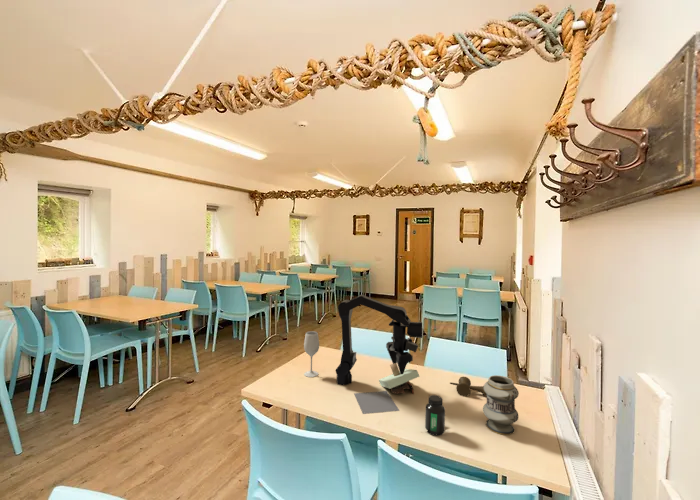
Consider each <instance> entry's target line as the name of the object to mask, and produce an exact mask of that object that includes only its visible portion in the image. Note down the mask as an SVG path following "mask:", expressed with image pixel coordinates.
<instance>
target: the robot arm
mask: <svg viewBox="0 0 700 500" xmlns="http://www.w3.org/2000/svg"><path fill="white" fill-rule="evenodd" d="M361 305H362V306H365V307H366V308H370V309H372V310H374V311H376V312H380V313H382V314H384V315H386V316H387V317H388V318H390V319H391V321H390V322H389V323H388V326H390V327H392V336H391V340H392V341H388V342H386V345H385V348H386V349H387V353H388V355H389V358H390V360H391V361H392V363H391V364H394V363H396V364H397V367H398V369H399V371H400V374H403V373H404V370H405V369H406V368H407V365H408V364H409V363H411V362H413V361H414V357H413V355H412V354H411V353H410V352H409V351H411V352H413V353H416V352H417V350H418V347H419V345H418V344H417V343H415V342H413V339H412V338H418V339H419V338H420V339H423V332H424V331H423V322H422V321H411V319H410V318H409V316H408V315H407V310H406V308H404V307H402V306H399V305H391V304H387V303H385V302H381V301H379V300H376V299H374V298H371V297H369V296H367V295H365V294H360V295H358V296H356V297H354V298H352V299H350V300H349V299H344V300H343V301H341V302H339V304H338V306H337V312H338V316H339V318H340V321H341V336H342V337H341V339H342V341H341V342H342V353H341V357H340V363H339V365H338V366H337V367H336V368H335V374H336V384H337V385H339V386H347V385H349V384H350V385H352V383H353V374H352V372H351V370H352V369H353V368H354V366H355V364H356V362H357V360H358V359H357V352H356V351H354V350H353V343H352V342H353V341H352V339H353V338H352V317H353V316H352V315H353V311H354V310H353V309H355V308H357V307H359V306H361ZM406 335H407V336H409V337H406Z"/></svg>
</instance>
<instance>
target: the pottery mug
mask: <svg viewBox="0 0 700 500" xmlns="http://www.w3.org/2000/svg"><path fill="white" fill-rule="evenodd" d="M405 390H410V391H411V393H412V394H414V393H415V391H414V388H413V384H412V383H411V381H408V382H405V383H403V384H400V385H399V386H397V387H393V388H391V390H390V391H391V393H392V394H395V395H397V394H405Z"/></svg>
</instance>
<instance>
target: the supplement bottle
mask: <svg viewBox="0 0 700 500" xmlns="http://www.w3.org/2000/svg"><path fill="white" fill-rule="evenodd" d="M443 403H444V402H443V397H441V396H440V395H436V394H431V395H429V396H428V402H427V404H426V405H425V411H424V412H425V414H424V415H425V417H424V418H425V419H424V420H425V422H424V427H425V429H426V432H427V434H429V435H431V436H439V437H440V436H443V434H444V433H445V427H446V407H445V405H443Z"/></svg>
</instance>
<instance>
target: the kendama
mask: <svg viewBox="0 0 700 500" xmlns="http://www.w3.org/2000/svg"><path fill="white" fill-rule="evenodd" d="M449 384H450V385H453V386H456V392H457V394H458V395H459V396H462V397H469V395H470V394H471V390H473V391H476V392H477V393H478V392H479V393H481V394H483V395H484V396H486V397H487V394H486V393H485V391H484V385H483V386H482V385H481V386H480V385H478V386H477V385H472V382H471V380H470V378H469V377H467V376H461V377H459V379H458V383H457V382H449Z"/></svg>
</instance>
